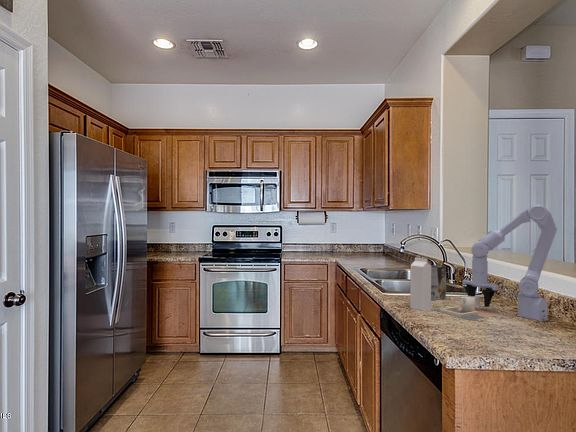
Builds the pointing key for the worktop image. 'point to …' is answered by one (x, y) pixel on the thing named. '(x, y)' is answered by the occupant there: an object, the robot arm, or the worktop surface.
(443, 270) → the coffee box
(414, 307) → the milk
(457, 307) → the jug holder
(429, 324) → the worktop surface
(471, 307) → the jug
